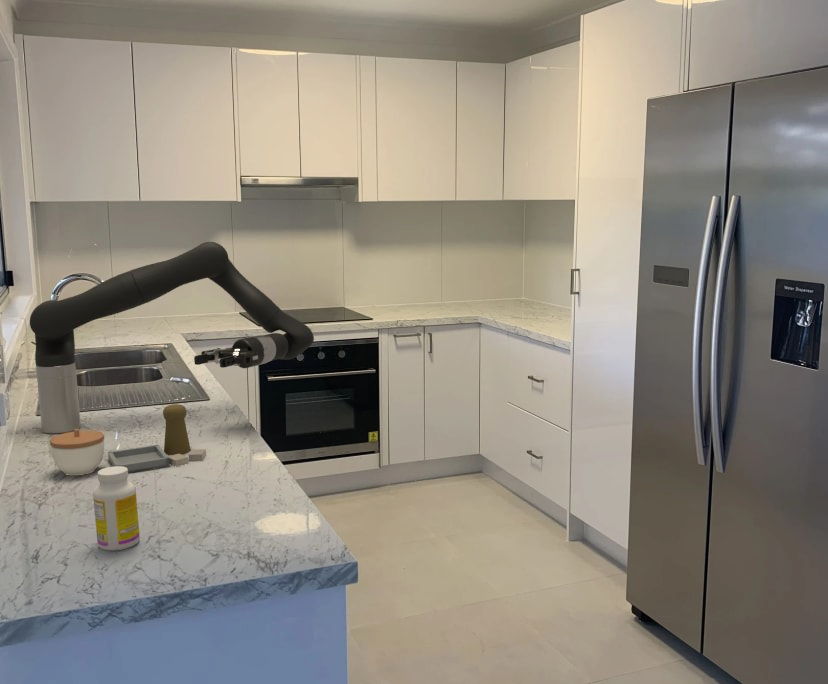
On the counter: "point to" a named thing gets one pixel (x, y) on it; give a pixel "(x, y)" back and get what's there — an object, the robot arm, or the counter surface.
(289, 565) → the counter surface
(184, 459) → the tan block
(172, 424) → the pepper mill
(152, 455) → the parts tray
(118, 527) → the supplement bottle
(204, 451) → the beige rectangular block
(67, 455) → the lidded jar
